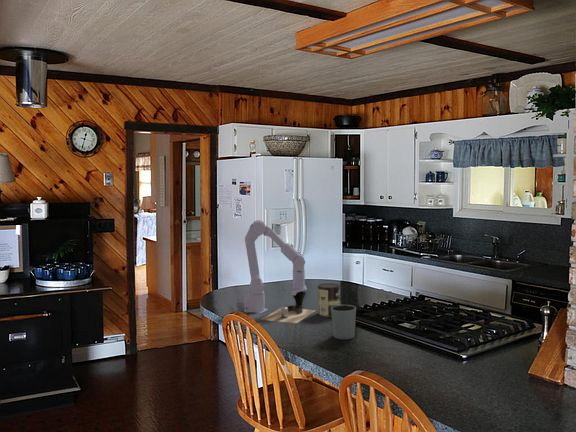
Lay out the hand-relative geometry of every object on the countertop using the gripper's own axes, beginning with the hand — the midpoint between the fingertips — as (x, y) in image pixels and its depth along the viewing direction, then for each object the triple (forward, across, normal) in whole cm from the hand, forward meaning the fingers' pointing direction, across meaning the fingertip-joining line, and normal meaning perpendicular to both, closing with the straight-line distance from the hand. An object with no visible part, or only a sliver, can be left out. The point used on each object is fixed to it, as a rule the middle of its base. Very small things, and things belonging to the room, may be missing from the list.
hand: (299, 306), depth 279 cm
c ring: (+1, -6, 0) cm, 6 cm away
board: (+1, -13, 0) cm, 13 cm away
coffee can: (+2, -5, -17) cm, 18 cm away
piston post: (+1, -18, 0) cm, 18 cm away
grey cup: (+2, -35, -34) cm, 49 cm away
